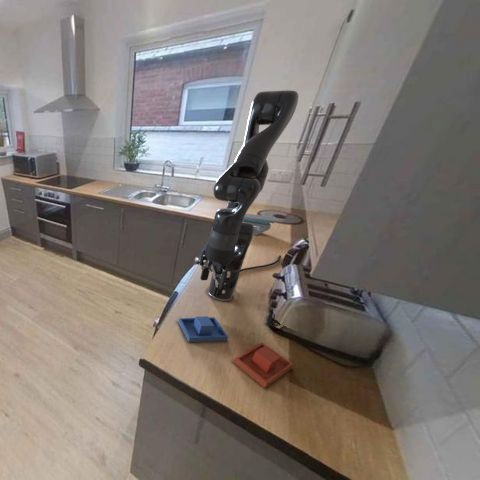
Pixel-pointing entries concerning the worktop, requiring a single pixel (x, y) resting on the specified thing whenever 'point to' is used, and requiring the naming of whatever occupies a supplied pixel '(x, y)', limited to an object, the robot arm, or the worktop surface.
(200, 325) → the blue block
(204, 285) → the worktop surface
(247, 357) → the rust tray
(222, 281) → the robot arm
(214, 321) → the blue tray
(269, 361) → the rust block
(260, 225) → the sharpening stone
